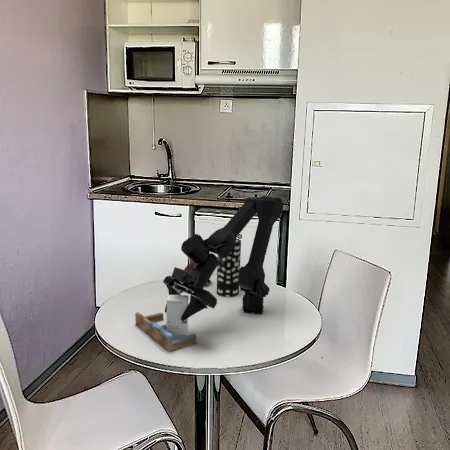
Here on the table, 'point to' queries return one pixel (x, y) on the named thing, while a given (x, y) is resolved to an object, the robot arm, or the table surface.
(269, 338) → the table surface
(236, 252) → the spotted tube
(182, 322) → the skincare box
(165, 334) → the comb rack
